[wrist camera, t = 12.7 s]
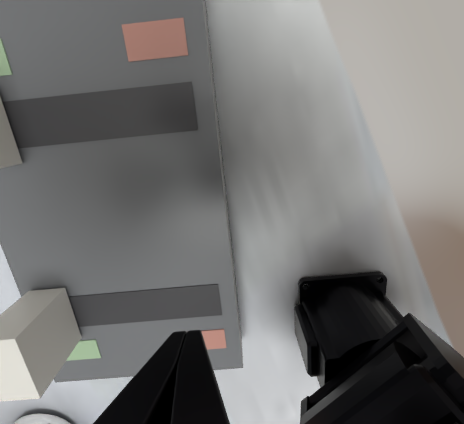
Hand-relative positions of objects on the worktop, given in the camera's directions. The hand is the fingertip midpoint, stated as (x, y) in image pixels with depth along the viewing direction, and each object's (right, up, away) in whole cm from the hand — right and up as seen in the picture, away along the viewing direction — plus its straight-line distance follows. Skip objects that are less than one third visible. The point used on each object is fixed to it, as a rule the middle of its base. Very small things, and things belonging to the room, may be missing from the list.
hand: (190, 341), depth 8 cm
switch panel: (-6, +4, +11) cm, 13 cm away
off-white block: (-10, -3, +10) cm, 15 cm away
